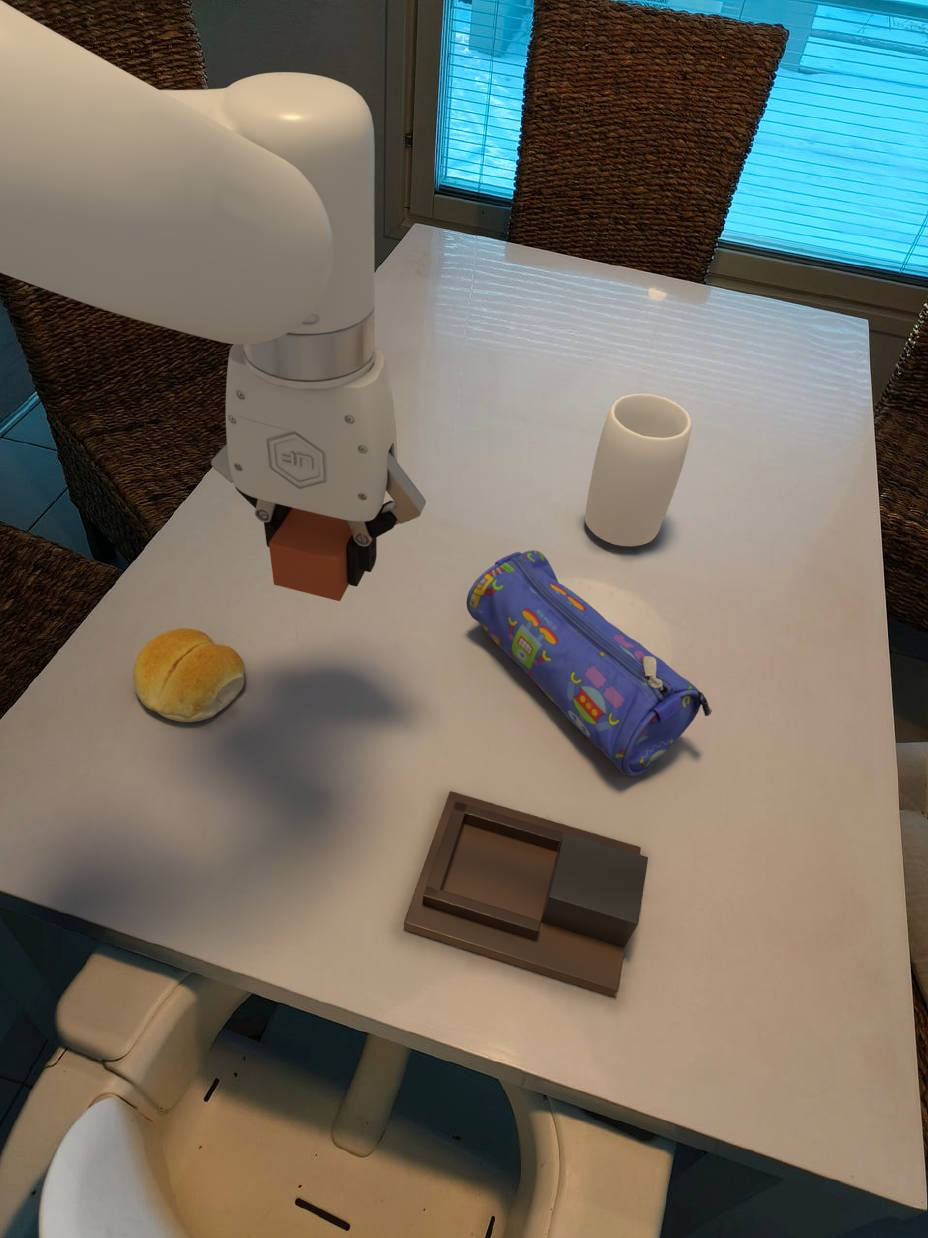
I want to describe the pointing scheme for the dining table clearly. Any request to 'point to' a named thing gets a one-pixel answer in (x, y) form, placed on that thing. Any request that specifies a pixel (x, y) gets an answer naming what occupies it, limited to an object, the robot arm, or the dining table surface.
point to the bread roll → (187, 675)
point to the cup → (636, 468)
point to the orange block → (311, 554)
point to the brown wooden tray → (530, 892)
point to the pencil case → (584, 662)
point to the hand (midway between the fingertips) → (322, 561)
